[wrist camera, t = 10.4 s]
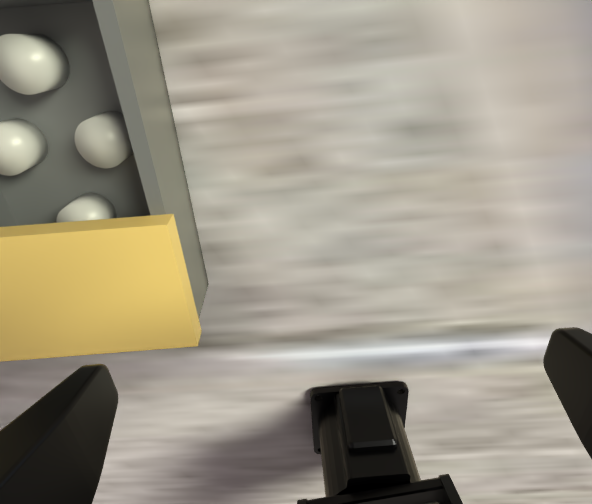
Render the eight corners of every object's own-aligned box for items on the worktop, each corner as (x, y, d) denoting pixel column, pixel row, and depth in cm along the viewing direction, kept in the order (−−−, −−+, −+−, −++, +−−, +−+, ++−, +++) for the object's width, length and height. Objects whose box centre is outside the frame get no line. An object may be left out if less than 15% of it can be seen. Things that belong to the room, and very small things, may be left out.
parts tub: (213, 283, 22) (197, 346, 17) (41, 296, 22) (-18, 362, 17) (152, -21, 15) (99, -43, 11) (-100, -2, 15) (-257, -17, 10)
